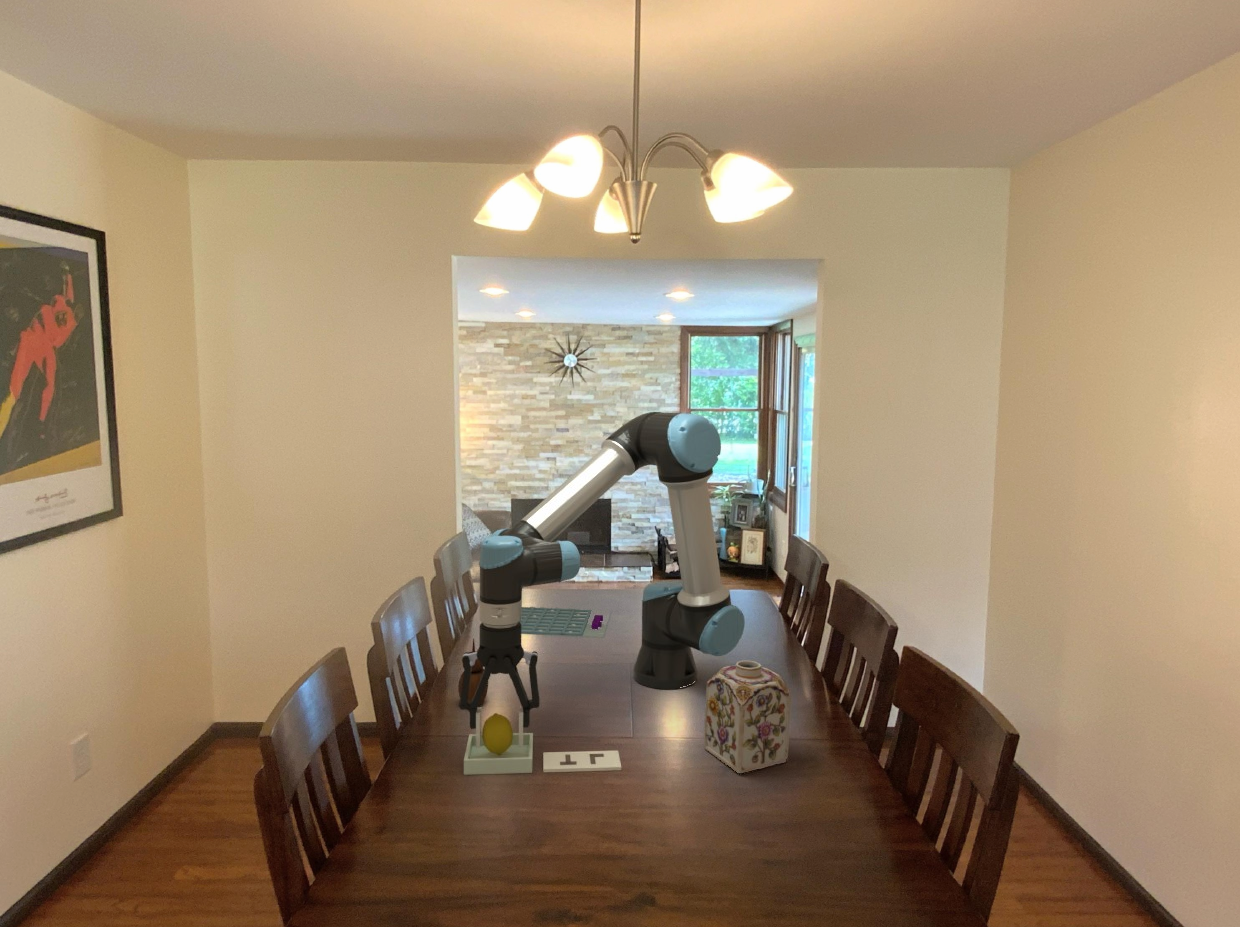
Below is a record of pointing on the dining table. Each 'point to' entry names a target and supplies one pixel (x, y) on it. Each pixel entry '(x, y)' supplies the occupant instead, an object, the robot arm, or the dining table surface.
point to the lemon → (497, 734)
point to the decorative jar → (747, 716)
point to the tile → (581, 761)
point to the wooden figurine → (474, 679)
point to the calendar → (560, 622)
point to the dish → (499, 757)
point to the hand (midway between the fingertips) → (499, 743)
